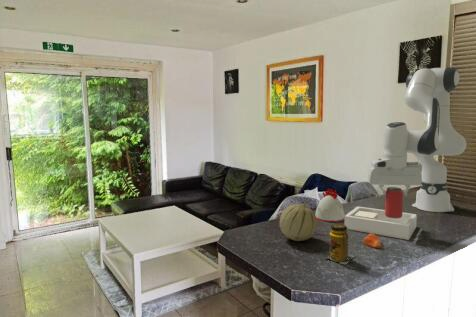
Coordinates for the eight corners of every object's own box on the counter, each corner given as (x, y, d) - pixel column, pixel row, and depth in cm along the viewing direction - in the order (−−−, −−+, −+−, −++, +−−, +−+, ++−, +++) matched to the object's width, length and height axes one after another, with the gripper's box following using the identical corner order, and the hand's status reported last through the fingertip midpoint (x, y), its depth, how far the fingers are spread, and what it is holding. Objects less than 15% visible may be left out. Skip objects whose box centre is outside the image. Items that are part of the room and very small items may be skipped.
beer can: (403, 219, 134) (404, 190, 132) (386, 218, 135) (387, 190, 134) (400, 214, 140) (400, 187, 138) (383, 213, 142) (384, 186, 140)
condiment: (325, 259, 114) (325, 226, 112) (335, 251, 120) (335, 220, 119) (345, 265, 109) (345, 230, 108) (355, 256, 115) (355, 223, 114)
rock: (376, 256, 117) (376, 244, 116) (349, 245, 127) (349, 234, 127) (397, 248, 123) (397, 237, 122) (369, 238, 133) (369, 228, 133)
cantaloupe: (273, 236, 137) (272, 201, 135) (302, 231, 142) (302, 197, 141) (292, 249, 123) (292, 210, 121) (324, 242, 129) (324, 205, 127)
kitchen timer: (334, 226, 148) (334, 193, 146) (309, 219, 158) (309, 189, 156) (350, 219, 157) (351, 188, 155) (325, 213, 167) (326, 184, 166)
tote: (357, 219, 156) (357, 206, 155) (416, 229, 141) (416, 214, 140) (344, 230, 142) (344, 216, 141) (408, 242, 127) (409, 226, 126)
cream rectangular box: (359, 221, 150) (359, 210, 150) (377, 224, 146) (378, 213, 145) (353, 226, 144) (354, 215, 143) (372, 229, 139) (373, 218, 139)
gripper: (419, 161, 136) (418, 193, 138) (367, 161, 140) (366, 193, 141) (425, 163, 130) (423, 197, 131) (370, 163, 134) (370, 196, 135)
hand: (393, 195), depth 137 cm, fingers closed on beer can, 7 cm apart
